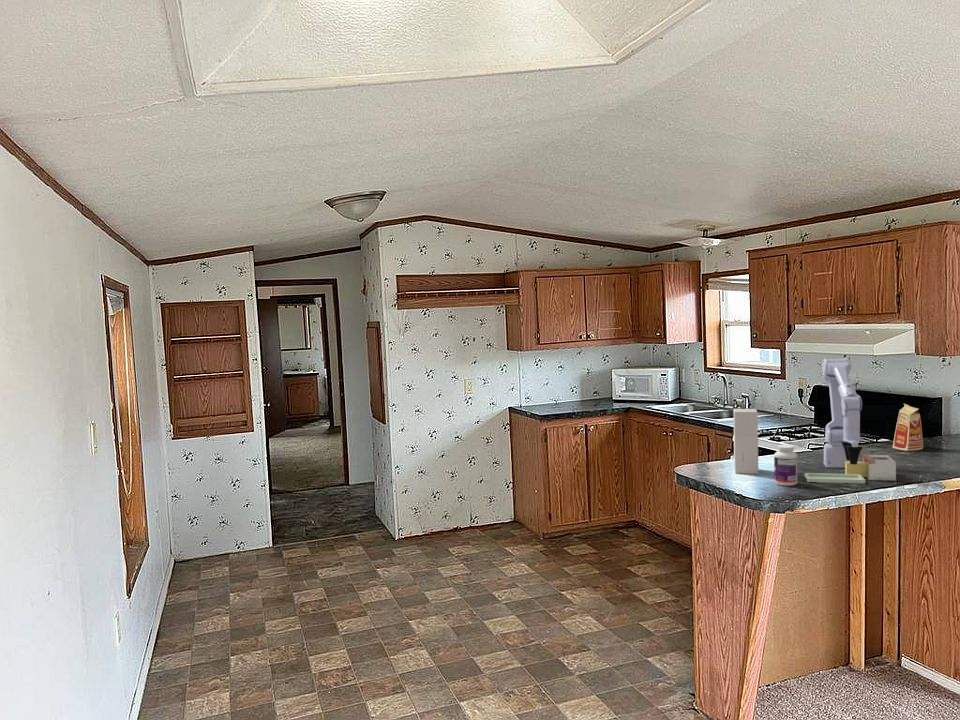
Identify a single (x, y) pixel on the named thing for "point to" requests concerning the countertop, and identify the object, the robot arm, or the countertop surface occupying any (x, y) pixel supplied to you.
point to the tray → (835, 478)
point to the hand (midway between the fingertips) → (851, 462)
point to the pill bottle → (785, 466)
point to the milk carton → (908, 430)
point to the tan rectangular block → (856, 468)
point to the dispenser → (880, 467)
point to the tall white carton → (746, 441)
